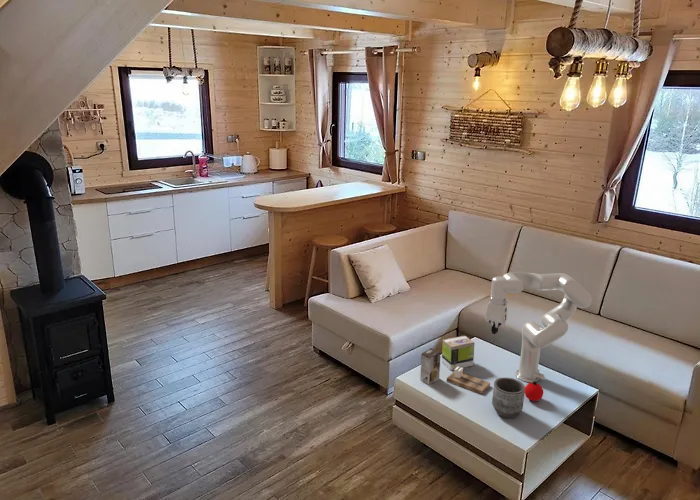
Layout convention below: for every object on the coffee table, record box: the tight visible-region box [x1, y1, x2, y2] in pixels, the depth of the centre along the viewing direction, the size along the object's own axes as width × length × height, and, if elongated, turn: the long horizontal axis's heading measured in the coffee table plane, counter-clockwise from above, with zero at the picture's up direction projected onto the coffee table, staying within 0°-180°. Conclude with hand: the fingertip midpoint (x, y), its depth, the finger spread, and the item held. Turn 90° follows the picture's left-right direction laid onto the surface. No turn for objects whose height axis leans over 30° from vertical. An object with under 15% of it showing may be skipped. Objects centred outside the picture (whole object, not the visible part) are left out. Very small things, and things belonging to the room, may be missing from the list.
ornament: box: [524, 381, 544, 402], centre depth 260 cm, size 9×9×10 cm
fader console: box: [446, 371, 491, 395], centre depth 274 cm, size 20×10×2 cm, turn 52°
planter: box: [491, 377, 526, 419], centre depth 248 cm, size 14×14×15 cm
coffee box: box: [419, 347, 442, 385], centre depth 276 cm, size 9×6×16 cm
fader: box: [453, 366, 464, 378], centre depth 277 cm, size 3×4×5 cm
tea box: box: [441, 335, 475, 371], centre depth 292 cm, size 15×10×15 cm
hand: (494, 332), depth 272 cm, fingers closed
